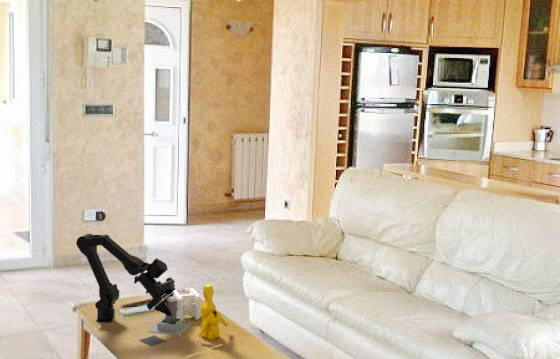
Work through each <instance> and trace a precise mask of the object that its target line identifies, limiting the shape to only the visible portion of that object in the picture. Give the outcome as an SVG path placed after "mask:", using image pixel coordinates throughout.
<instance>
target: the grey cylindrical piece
mask: <svg viewBox="0 0 560 359" xmlns="http://www.w3.org/2000/svg"><path fill="white" fill-rule="evenodd" d="M166 306H167V307H168V309H169V310H170V312H171V314H172V315H171V316H169V315H166V314H164V315H165V316H164V317H165V323H169V324H175V323H176V322H177V300H176V297H167V300H166Z"/></svg>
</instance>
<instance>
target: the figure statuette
mask: <svg viewBox="0 0 560 359" xmlns="http://www.w3.org/2000/svg"><path fill="white" fill-rule="evenodd" d="M214 291H215V290H214V287H213V285H211V284H206V285H204V286H203V298H204V302H203V304H202V306H201V308H200V314H201V323H200V329H199V330H200V331H199V333H198V337H199V338H201V337H202V338H206V339H208V340H216V339H217V338H219V337H220V326H219V324H220V323H221V324H222V325H223V326H224V327H225V328H226V327H229V324H228V322H227V321H226V320H225V319H224V317H223V316H222V315H221V312H219V311H217V307H216V305H215V302H214V301H213V297H214Z"/></svg>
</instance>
